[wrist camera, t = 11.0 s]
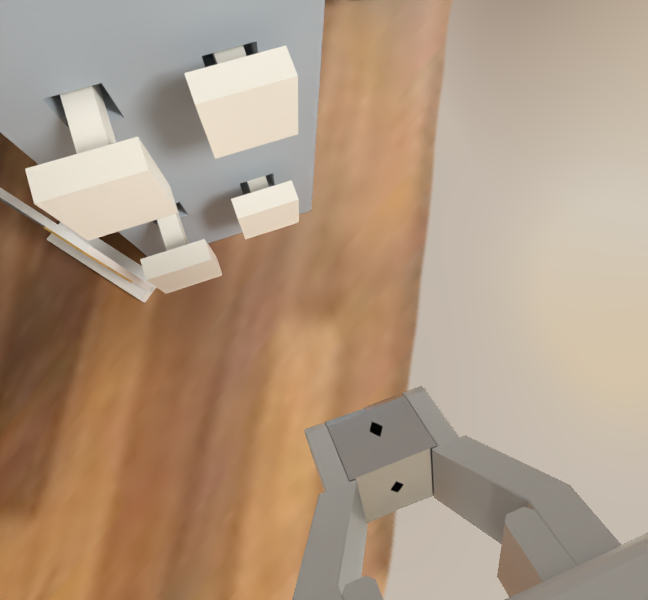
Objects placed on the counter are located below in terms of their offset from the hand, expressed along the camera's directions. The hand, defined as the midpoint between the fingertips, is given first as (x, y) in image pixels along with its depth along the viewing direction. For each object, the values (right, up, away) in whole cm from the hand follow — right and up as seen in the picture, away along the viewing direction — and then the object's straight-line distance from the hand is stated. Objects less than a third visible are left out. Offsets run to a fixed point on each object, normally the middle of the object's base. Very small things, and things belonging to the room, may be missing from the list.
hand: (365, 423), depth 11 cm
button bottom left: (-10, +6, +17) cm, 20 cm away
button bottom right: (-5, +10, +18) cm, 21 cm away
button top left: (-9, +8, +7) cm, 14 cm away
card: (-16, +6, +21) cm, 27 cm away
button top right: (-5, +12, +8) cm, 15 cm away
